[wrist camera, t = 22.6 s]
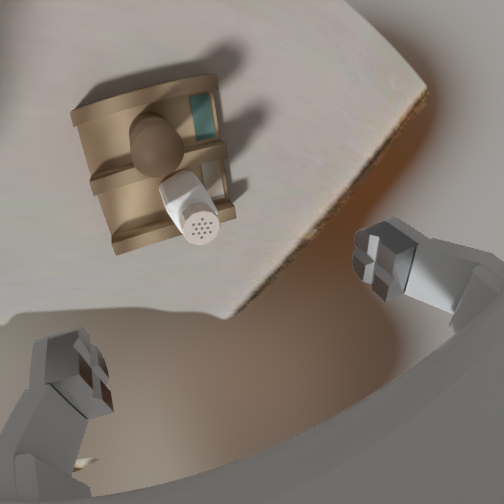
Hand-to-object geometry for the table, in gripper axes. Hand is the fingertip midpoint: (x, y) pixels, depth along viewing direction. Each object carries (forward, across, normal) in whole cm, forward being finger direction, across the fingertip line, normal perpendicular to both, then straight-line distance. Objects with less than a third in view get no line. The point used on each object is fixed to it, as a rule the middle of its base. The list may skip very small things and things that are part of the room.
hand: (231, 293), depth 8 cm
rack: (+27, -1, +4) cm, 27 cm away
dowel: (+26, 0, 0) cm, 26 cm away
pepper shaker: (+26, -2, +7) cm, 27 cm away
